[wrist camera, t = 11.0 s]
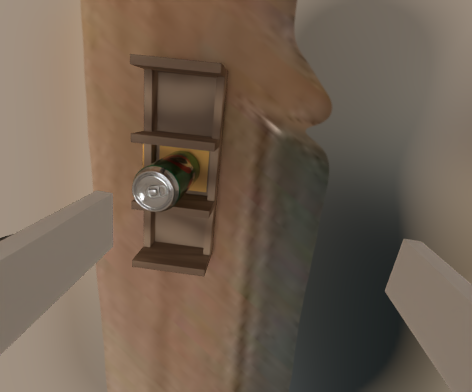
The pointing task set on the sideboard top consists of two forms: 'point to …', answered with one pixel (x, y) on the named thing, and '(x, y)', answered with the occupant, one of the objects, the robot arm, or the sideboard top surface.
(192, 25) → the sideboard top surface
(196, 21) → the sideboard top surface
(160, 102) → the slot rack
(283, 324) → the sideboard top surface
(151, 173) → the soda can
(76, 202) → the robot arm
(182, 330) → the sideboard top surface
